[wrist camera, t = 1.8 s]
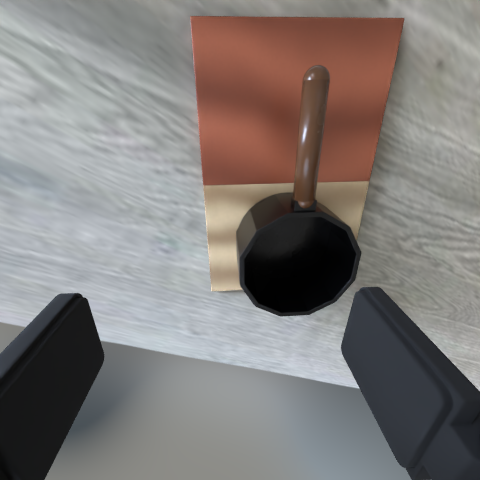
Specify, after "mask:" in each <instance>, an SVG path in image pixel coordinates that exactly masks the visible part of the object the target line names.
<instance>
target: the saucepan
mask: <svg viewBox="0 0 480 480" xmlns="http://www.w3.org/2000/svg"><path fill="white" fill-rule="evenodd" d="M329 85H330V74H329V71H328V70H327V68H326V67H324V66H322V65H315V66H312V67H311V68H309V69H308V70H307V71H306V73H305V74H304V77H303V81H302V91H301V103H300V115H299V128H298V140H297V152H296V164H295V176H294V188H293V192H285V193H278V194H274V195H271V196H268V197H266V198H264V199H262V200H260V201H259V202H257V203H256V204H255V205H254V206H252V207H251V208H250V209H249V210H248V212H247V213H246V214H245V215H244V217H243V218H242V220H241V222H240V224H239V227H238V229H237V231H236V252H237V264H238V273H239V282H240V286H241V288H242V289H243V290H244V292H245V293H246V294H247V296H248V297H249V299H250V300H251V301H252V303H253V304H254V305H255V306H256V307H258V308H261V309H263V310H266V311H268V312H271V313H273V314H276V315H278V316H296V315H310V314H312V313H314V312H316V311H318V310H320V309H322V308H324V307H326V306H328V305H331V304H333V303H335V302H336V301H337V300H338V299H339V298H340V297H341V295H342V294H343V293H344V292H345V291H346V290H347V289H348V288H349V286H350V285H351V284H352V283H353V282H354V281H355V278H356V274H357V270H358V265H359V261H360V257H361V251H360V248H359V246H358V244H357V241H356V239H355V236H354V234H353V232H352V229H351V227H350V226H349V225H347V224H346V223H345V222H344V221H342V220H341V219H340V218H339V217H338V216H336V215H335V214H334V213H333V212H332V211H330V210H329V209H328V208H327V207H325V206H324V205H322V204H321V203H319V202H317V200H316V199H315V198H316V190H317V182H318V174H319V165H320V157H321V149H322V141H323V133H324V125H325V117H326V109H327V101H328V93H329Z"/></svg>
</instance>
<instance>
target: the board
mask: <svg viewBox="0 0 480 480" xmlns="http://www.w3.org/2000/svg"><path fill="white" fill-rule="evenodd" d="M190 20H191V33H192V46H193V58H194V71H195V84H196V97H197V110H198V123H199V136H200V149H201V162H202V175H203V185H204V186H203V188H204V201H205V214H206V227H207V239H208V252H209V265H210V278H211V291H229V290H243V289H242V288H241V286H240V282H239V273H238V264H237V252H236V231H237V229H238V227H239V224H240V222H241V220H242V218H243V217H244V215H245V214H246V213H247V212H248V210H249V209H250V208H251V207H252V206H254V205H255V204H256V203H257V202H259V201H260V200H262V199H264V198H266V197H268V196H271V195H274V194H278V193H285V192H293V188H294V176H295V164H296V152H297V140H298V128H299V115H300V103H301V91H302V81H303V77H304V74H305V73H306V71H307V70H308V69H309V68H311V67H312V66H315V65H322V66H324V67H326V68H327V70H328V71H329V74H330V85H329V93H328V101H327V109H326V117H325V125H324V133H323V141H322V149H321V157H320V165H319V174H318V182H317V190H316V198H315V199H316V200H317V202H319V203H321V204H322V205H324V206H325V207H327V208H328V209H329V210H330V211H332V212H333V213H334V214H335V215H336V216H338V217H339V218H340V219H341V220H342V221H344V222H345V223H346V224H347V225H349V226H350V227H351V229H352V232H353V234H354V236H355V239H356V241H357V236H358V231H359V227H360V222H361V218H362V213H363V208H364V204H365V199H366V194H367V190H368V185H369V181H370V176H371V171H372V167H373V162H374V158H375V153H376V148H377V144H378V139H379V134H380V130H381V125H382V121H383V116H384V111H385V107H386V102H387V97H388V93H389V88H390V84H391V79H392V74H393V70H394V65H395V60H396V56H397V51H398V47H399V42H400V37H401V33H402V28H403V23H404V18H339V17H230V16H191V17H190Z"/></svg>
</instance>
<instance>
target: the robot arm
mask: <svg viewBox="0 0 480 480" xmlns="http://www.w3.org/2000/svg"><path fill="white" fill-rule="evenodd" d="M341 350H342V354H343V357H344V358H345V360H346V362H347V364H348V366H349V368H350V370H351V372H352V374H353V376H354V378H355V380H356V382H357V384H358V386H359V388H360V390H361V392H362V394H363V395H364V397H365V399H366V401H367V403H368V405H369V407H370V409H371V411H372V413H373V415H374V417H375V419H376V421H377V423H378V425H379V427H380V429H381V431H382V433H383V435H384V436H385V438H386V440H387V442H388V444H389V446H390V448H391V450H392V452H393V454H394V456H395V458H396V460H397V461H398V463H399V464H400V465H401V466H402V467H404V468H406V470H407V472H408V474H409V475H410V477H411V479H412V480H431V479H432V480H480V391H479V390H478V389H477V388H476V387H475V386H474V385H473V384H472V383H471V382H470V381H469V380H468V379H467V378H466V377H465V376H464V375H463V374H462V372H461V371H460V370H459V369H458V368H457V367H456V366H455V365H454V364H453V363H452V362H451V361H450V360H449V359H448V358H447V357H446V356H445V355H444V354H443V353H442V352H441V350H440V349H439V348H438V347H437V346H436V345H435V344H434V343H433V342H432V341H431V340H430V339H429V338H428V337H427V336H426V335H425V334H424V333H423V332H422V331H421V330H420V328H419V327H418V326H417V325H416V324H415V323H414V322H413V321H412V320H411V319H410V318H409V317H408V316H407V315H406V314H405V313H404V312H403V311H402V310H401V309H400V308H399V306H398V305H397V304H396V303H395V302H394V301H393V300H392V299H391V298H390V297H389V296H388V295H387V294H386V293H385V292H384V291H383V290H382V289H381V288H380V287H362V288H361V289H360V290H359V291H358V292H356V293H355V296H354V299H353V303H352V307H351V311H350V314H349V318H348V322H347V326H346V329H345V333H344V337H343V340H342V344H341ZM103 361H104V352H103V349H102V345H101V342H100V339H99V335H98V332H97V329H96V326H95V322H94V319H93V316H92V313H91V309H90V306H89V303H88V300H87V299H86V298H83V297H82V295H81V294H79V293H68V294H59V295H57V296H56V297H55V298H54V299H53V300H52V301H51V302H50V303H49V304H48V305H47V306H46V307H45V308H44V309H43V310H42V311H41V312H40V314H39V315H38V316H37V317H36V318H35V319H34V320H33V321H32V322H31V323H30V324H29V325H28V326H27V327H26V328H25V329H24V330H23V331H22V332H21V333H20V334H19V335H18V336H17V337H16V338H15V340H13V341H12V342H11V343H10V344H9V346H7V347H6V348H5V350H4V351H3V352H2V353H1V354H0V480H44V479H45V477H46V475H47V473H48V472H49V470H50V468H51V466H52V464H53V462H54V460H55V458H56V455H57V453H58V452H59V450H60V448H61V446H62V444H63V442H64V439H65V438H66V436H67V434H68V432H69V430H70V428H71V426H72V424H73V422H74V420H75V418H76V416H77V414H78V412H79V410H80V408H81V406H82V404H83V402H84V400H85V398H86V396H87V394H88V392H89V390H90V388H91V386H92V384H93V382H94V380H95V378H96V376H97V374H98V372H99V370H100V368H101V366H102V364H103Z"/></svg>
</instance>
